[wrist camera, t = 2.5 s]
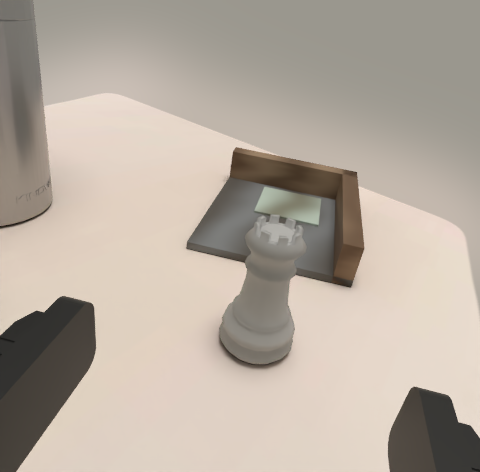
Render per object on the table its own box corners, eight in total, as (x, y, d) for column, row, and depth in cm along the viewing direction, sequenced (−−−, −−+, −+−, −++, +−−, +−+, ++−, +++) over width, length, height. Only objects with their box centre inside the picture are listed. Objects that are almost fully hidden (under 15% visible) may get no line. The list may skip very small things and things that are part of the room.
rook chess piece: (257, 306, 28) (279, 200, 24) (306, 349, 25) (340, 236, 21) (203, 331, 25) (218, 215, 21) (251, 381, 22) (278, 259, 18)
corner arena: (186, 248, 33) (190, 208, 31) (232, 177, 47) (236, 147, 45) (351, 287, 31) (364, 248, 30) (347, 202, 45) (356, 172, 43)
